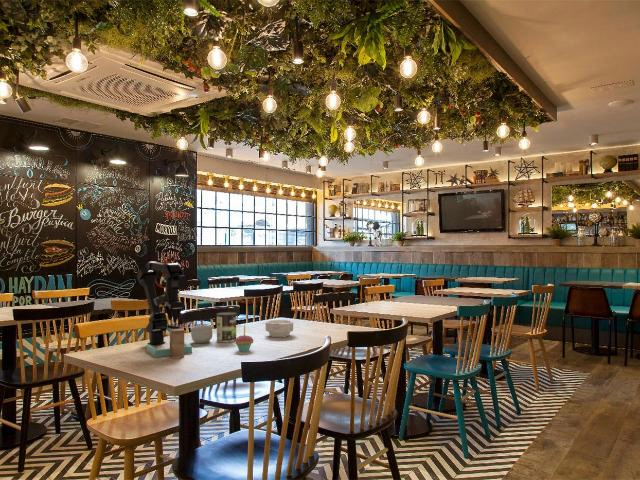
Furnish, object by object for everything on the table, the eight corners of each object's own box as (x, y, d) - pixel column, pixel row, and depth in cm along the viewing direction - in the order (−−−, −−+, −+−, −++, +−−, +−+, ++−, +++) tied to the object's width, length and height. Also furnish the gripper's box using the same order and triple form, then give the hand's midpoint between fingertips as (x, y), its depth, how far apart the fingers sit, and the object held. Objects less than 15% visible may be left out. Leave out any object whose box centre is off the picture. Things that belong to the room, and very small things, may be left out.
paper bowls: (298, 335, 262) (298, 320, 262) (282, 339, 249) (282, 324, 249) (276, 332, 270) (276, 318, 270) (259, 336, 257) (259, 322, 258)
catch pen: (146, 351, 223) (146, 344, 223) (181, 346, 232) (181, 340, 232) (155, 357, 210) (155, 350, 210) (192, 352, 219) (191, 346, 219)
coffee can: (240, 339, 252) (240, 312, 252) (230, 342, 242) (230, 315, 242) (223, 338, 255) (222, 311, 255) (212, 341, 245) (212, 314, 245)
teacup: (206, 344, 237) (206, 328, 237) (186, 344, 239) (186, 328, 239) (218, 339, 251) (218, 324, 251) (199, 338, 253) (199, 323, 253)
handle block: (169, 356, 212) (169, 329, 212) (180, 355, 214) (180, 328, 215) (172, 358, 207) (172, 331, 208) (184, 357, 210) (184, 330, 210)
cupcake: (236, 348, 227) (235, 323, 227) (253, 348, 228) (253, 323, 228) (234, 352, 218) (234, 326, 219) (252, 352, 219) (252, 326, 219)
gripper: (150, 288, 235) (150, 320, 234) (159, 291, 219) (159, 325, 218) (173, 287, 240) (173, 318, 240) (183, 290, 225) (184, 323, 224)
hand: (172, 321), depth 231 cm, fingers open, 9 cm apart
